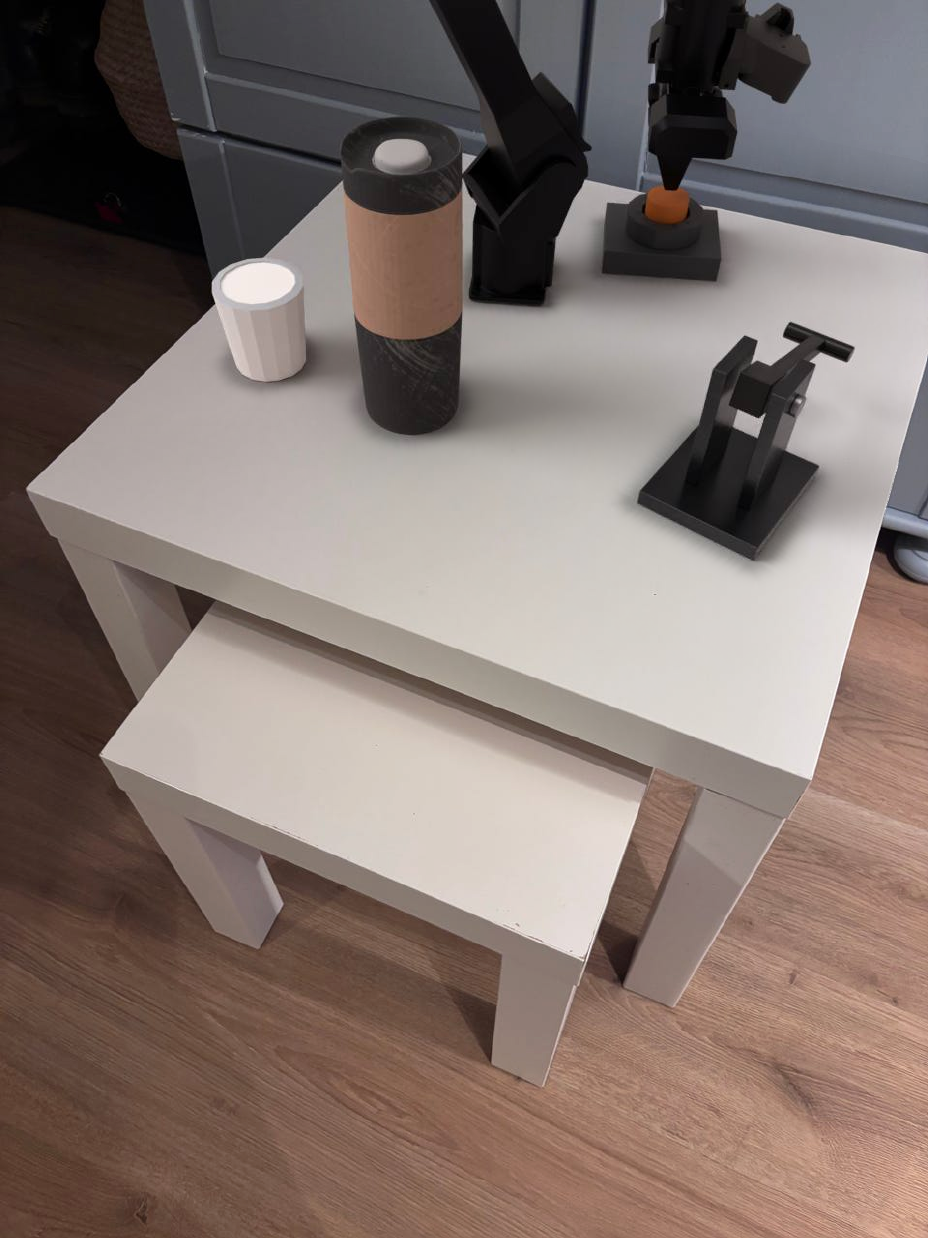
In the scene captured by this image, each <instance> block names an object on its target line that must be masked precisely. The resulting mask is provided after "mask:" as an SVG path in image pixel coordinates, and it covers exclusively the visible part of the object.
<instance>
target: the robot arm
mask: <svg viewBox="0 0 928 1238" xmlns="http://www.w3.org/2000/svg"><path fill="white" fill-rule="evenodd" d="M428 1H429V3H430V5H431V7H432V10H433V11H434V13H435V15H436V17H437V19H438V21H439V23H440V25H441V27H442V29H443V30H444V32H445V35H446V37H447V39H448V40H449V42H450V45H451V47H452V49H453V50H454V53H455V55H456V56H457V58H458V60H459V62H460V64H461V66H462V68H463V70H464V72H465V74H466V77H467V79H468V81H469V82H470V84H471V86H472V89H473V90H474V92H475V93H476V97H477V99H478V103H479V113H480V122H481V128H482V131H483V135H484V138H485V142H486V145H485V146H484V147H483V148H482V150H481V151H480V152H479V153H478V154H477V155H476V157H475V158H474V159H473V160H472V162H471V163H470V164H468V166H467V168H465V170H464V171H462V182H463V183H464V187H465V189H466V192H467V194H468V195H469V197H470V198H471V199H472V200H473V201H474V202H475V209H474V213H473V219H472V236H471V237H472V238H471V241H472V242H471V277H470V282H469V287H468V299H469V300H470V301H474V302H475V301H477V302H488V303H503V304H515V305H516V304H517V305H530V306H542V305H544V304H545V301H546V292H547V289H549V288H551V287H552V284H553V276H554V266H555V265H554V264H555V255H556V244H557V237H558V236H559V235H560V233H561V230H562V228H563V225H564V223H565V222H566V218H567V216H568V214H569V211H570V209H571V207H572V204H573V202H574V200H575V198H576V197H577V196H578V194H579V192H581V190H582V188H583V185H584V183H585V180H586V179H587V178H588V176H589V163H588V159H587V156H586V153H585V152H591V151H592V149H593V147H592V145H591V144H590V143H589V142H588V141H587V140H586V139H585V137H584V136H583V135H582V133H581V130H580V128H579V123H578V118H577V115H576V112H575V111H576V110H575V108H574V106H573V104H572V102H570V100H569V99H568V98H567V97H566V96H565V95H564V94H563V92H562V91H560V90H559V88H558V87H557V86H556V85H555V84H554V83H553V82H552V80H550V79H549V77H548V76H546V74H545V73H544V72H543V71H539V72H538V74H536V75H535V76H534V77H533V78H532V77H531V75H530V73H529V71H528V69H527V66H526V64H525V62H524V60H523V58H522V55H521V52H520V51H519V48H518V46H517V44H516V42H515V39H514V37H513V35H512V33H511V31H510V28H509V26H508V24H507V21H506V19H505V17H504V15H503V13H502V10H501V9H500V6H499V4H498V2H497V0H428ZM746 4H747V0H663V15H662V16H661V18H659V19H658V20H657V21H656V22H655V23H654V24H653V25H651V27H650V32H649V39H648V40H649V41H648V46H647V64H650V65H654V72H655V73H654V82H651V83H649V84H648V85H647V103H648V107H647V125H648V132H647V153H650V154H652V155H654V156H655V157H656V159H657V164H658V168H659V172H660V176H661V180H662V184H663V185H662V186H664V189H665V190H667V191H676V190H678V188H680V187H681V186H680V185H681V184H682V181H683V179H684V177H685V175H686V173H687V171H688V168H689V167H690V164H691V162H692V160H693V159H704V160H718V161H719V160H720V161H725V160H727V159H730V158H732V157H733V153H734V149H735V145H736V141H737V136H738V123H737V116H736V115H737V114H736V110H735V109H734V107H733V106H732V104H731V103H730V101H729V99H727V98H726V96H724V93H723V90H724V91H736V87H737V83H738V80H739V81H740V82H741V83H742V84H745V85H747V86H749V87H750V88H753V89H754V90H757V91H759V92H762V93H763V94H765V95H768V96H770V98H771V100H772V101H773V102H775V103H778V104H781V105H786V104H787V103H788V102H789V100H790V98H791V97H792V95H793V94H794V92H795V91H796V89H797V88H798V85H799V84H800V83H801V81H802V80H803V78H804V76H805V74H806V73H807V71H808V70H809V69H810V67H811V65H812V61H811V56H810V53H809V49H808V45H807V44H806V42H805V41H804V40H803V39H802V36H801V34H798V33H795V35H794V34H793V33H794V26H795V25H794V24H795V15H794V12H793V11H794V10H793V9H792V8H790V7H788V6H786V5H784V4H782V3H779V2H776V3H774V4H773V5H772V6H770V7H769V8H768V9H766V11H764V12H762V14H758V13H755V15H754V16H752V15H750V13H749V11H747V9H746Z"/></svg>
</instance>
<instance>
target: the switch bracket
mask: <svg viewBox="0 0 928 1238" xmlns="http://www.w3.org/2000/svg"><path fill="white" fill-rule="evenodd" d="M758 342H759V341H758V339H756V338H753V337H751V336H748V335H745V334H744V335H743V336H742V337H741V338H740V339H739V340H738V341H737V342H736V343H735V344H734V345H733V346H732V348H731V349H730V350H729V351H728V352H727V353H726V355H724V356H723V357H722V359H721V360H720V361H718V362H717V363H716V365H715V366H714V367H713V368H712V371H711V375H710V378H709V382H708V386H707V390H706V395H705V399H704V402H703V407H702V409H701V410H702V411H701V414H700V417H699V418H700V419H699V422H698V425H697V426H696V427H695V428H694V430H692V432H691V433H690V434H689V435H688V436H687V437H686V439H684V440H683V442H682V443H680V445H679V446H678V448H677V449H675V451H674V452H672V454H671V455H670V457H668V459H667V460H666V461H665V462H664V463H663V464H662V465H661V466H660V468H658V470H657V471H656V472H654V474H653V475H652V476H651V477H650V478H649V480H648V481H647V482H646V483H644V486H643V487H642V488H641V489H640V490H638V491H639V492H638V496H637V500H636V503H637V504H639V505H640V506H642V507H644V508H646V509H648V510H651V511H652V512H654V513H656V514H659V515H660V516H663V517H664V518H667V519H669V520H670V521H672V522H674V523H677V524H678V525H680V526H683V527H685V528H687V529H689V530H690V531H693V532H695V533H696V534H699V535H701V536H703V537H704V538H707V539H709V540H711V541H713V542H715V543H717V544H718V545H721V546H723V547H725V548H727V549H728V550H731V551H733V552H735V553H737V554H739V555H741V556H742V557H745V558H747V559H748V560H751V561H754V560H755V558H756V557H757V556H758V555H759V553H760V552H761V550H762V549H763V548H764V546H765V545H766V544H767V542H768V541H769V540H770V538H771V537H772V536H773V534H774V533H775V532H776V530H777V529H778V528H779V527H780V525H781V524H782V522H783V521H784V520H785V518H786V517H787V516H788V514H789V513H790V511H792V509H793V508H794V506H795V505H796V504H797V502H798V501H799V500H800V499H801V497H802V496H803V494H804V493H805V492H806V490H807V489H808V487H809V486H810V485H811V484H812V482H813V481H814V479H815V478H816V476H817V474H818V471H819V468H820V465H818V464H817V463H815V462H812V461H810V460H808V459H805V458H803V457H801V456H798V455H797V454H794V453H792V452H790V451H788V450H787V448H788V444H789V442H790V439H791V437H792V433H793V431H794V428H795V425H796V422H797V420H798V418H799V416H800V415H801V413H802V411H803V409H804V407H805V404H806V403H807V396H806V394H807V391H808V389H809V385H810V383H811V381H812V378H813V375H814V372H815V369H816V366H817V363H815V362H812V361H807V360H805V359H801V360H800V361H799V363H798V364H797V365H796V366H795V367H794V368H793V370H792V371H791V372H790V373H789V374H788V376H787V377H786V378H785V379H784V380H783V381H782V383H781V384H780V385H779V386H778V387H777V388H776V390H775V391H774V392H773V393H772V395H771V398H770V401H769V404H768V407H767V410H766V413H765V414H764V415H763V416H764V417H763V420H762V422H761V426H760V429H759V433H758V435H757V437H756V436H754V435H752V434H749V433H747V432H745V431H742V430H740V429H738V428H735V427H734V425H735V421H736V418H737V415H738V411H739V410H738V409H735V408H733V407H731V406H729V402H730V399H731V396H732V394H733V391H734V388H735V386H736V383H737V380H738V378H739V375H740V372H741V371H743V370H744V369H745V368H747V367H748V366H750V365H751V364H752V363H753V360H754V356H755V353H756V349H757V345H758Z"/></svg>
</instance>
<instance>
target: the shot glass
mask: <svg viewBox="0 0 928 1238" xmlns="http://www.w3.org/2000/svg"><path fill="white" fill-rule="evenodd" d="M304 287H305V286H304V276H303V273H301V271H300V269H298V268H297V267H296V265H294V264H291V263H289V262H286V261H285V260H282V259H276V258H271V257H270V258H269V257H257V258H247V259H243V260H240V261H238V262H234V263H231V264H229V265H228V266H226V267H224V268H223V269H221V270H220V271H218V273H216V276H215V277H214V278H213V280H212V282H211V294H212V297H213V300H214V303H215V306H216V309H217V312H218V315H219V319H220V322H221V325H222V328H223V331H224V333H225V336H226V341H227V342H228V346H229V349H230V352H231V355H232V358H233V361H234V364H235V367H236V368H237V370H238V371H239V373H240V374H241V375H242V376H245V377H246V378H248V379H249V380H251V381H258V382H263V383H269V382H278V381H279V382H280V381H282V380H285V379H288V378H291V377H293V376H294V375H296V374H297V373H298V372H300V371H301V370H303V367H304V365H305V364H306V362H307V345H306V343H307V340H306V317H305V315H306V313H305V288H304Z"/></svg>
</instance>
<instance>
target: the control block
mask: <svg viewBox="0 0 928 1238" xmlns="http://www.w3.org/2000/svg"><path fill="white" fill-rule="evenodd" d="M647 196H648V192H645V193H641V194H638V195H636V196H635V197H634V198H633V199H631V201H629V202H628V203H621V202H620V203H619V202H607V203H606V206H605V208H606V210H605V215H604V216H605V217H604V223H603V240H602V241H603V243H602V265H601V273H602V274H609V275H625V276H636V277H650V278H651V277H652V278H663V279H664V278H666V279H678V280H679V279H680V280H692V281H693V280H694V281H705V282H706V281H708V282H717V280H718V276H719V271H720V268H721V263H722V259H723V258H722V248H721V237H720V224H719V212H718V209H708V208H704V207H703V206H702V205H701V204H699V203H698V201H696V200H695V199H694V198H693V197H690V200H689V205H688V210H687V215H686V219H685V220H684V221H683V222H679V223H675V224H667V223H658V222H656V221H653V220H650V219H648V218H647V217H646V216H645V208H646V202H647Z"/></svg>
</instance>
